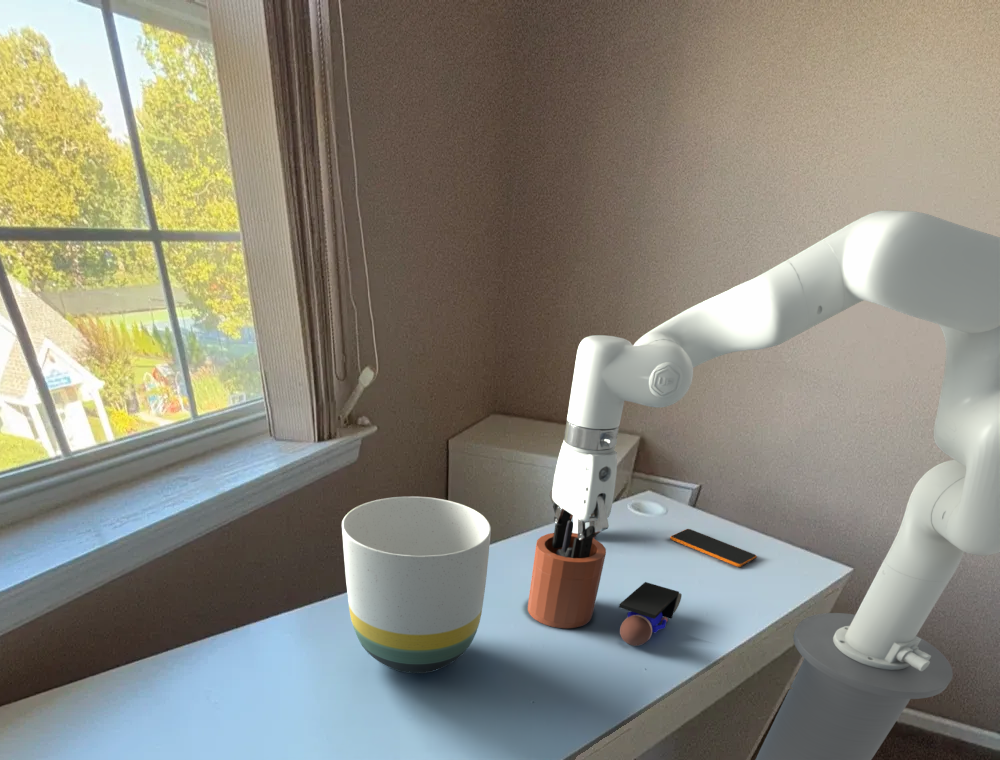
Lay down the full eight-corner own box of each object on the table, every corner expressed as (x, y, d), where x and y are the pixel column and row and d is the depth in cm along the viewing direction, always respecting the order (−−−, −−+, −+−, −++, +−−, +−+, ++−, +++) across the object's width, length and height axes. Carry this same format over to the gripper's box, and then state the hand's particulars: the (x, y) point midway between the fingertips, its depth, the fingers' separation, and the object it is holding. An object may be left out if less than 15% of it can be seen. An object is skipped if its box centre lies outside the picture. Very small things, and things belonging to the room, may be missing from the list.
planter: (431, 715, 87) (436, 572, 73) (323, 665, 94) (309, 527, 80) (502, 652, 100) (517, 520, 86) (402, 612, 107) (402, 486, 93)
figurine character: (638, 614, 114) (607, 641, 103) (650, 574, 110) (619, 598, 99) (674, 626, 111) (646, 656, 100) (687, 586, 107) (660, 612, 96)
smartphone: (739, 568, 127) (740, 564, 127) (668, 540, 136) (669, 536, 136) (757, 558, 131) (758, 554, 131) (687, 531, 140) (688, 527, 140)
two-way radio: (545, 599, 111) (558, 516, 102) (569, 598, 112) (585, 516, 102) (554, 615, 107) (569, 530, 97) (579, 614, 108) (596, 530, 98)
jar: (604, 621, 109) (619, 555, 101) (549, 633, 104) (561, 566, 97) (568, 591, 116) (579, 528, 108) (515, 602, 112) (523, 537, 104)
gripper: (648, 451, 87) (620, 572, 99) (578, 418, 99) (560, 530, 111) (604, 456, 85) (580, 580, 96) (537, 421, 96) (523, 536, 108)
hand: (570, 552), depth 103 cm, fingers open, 4 cm apart
